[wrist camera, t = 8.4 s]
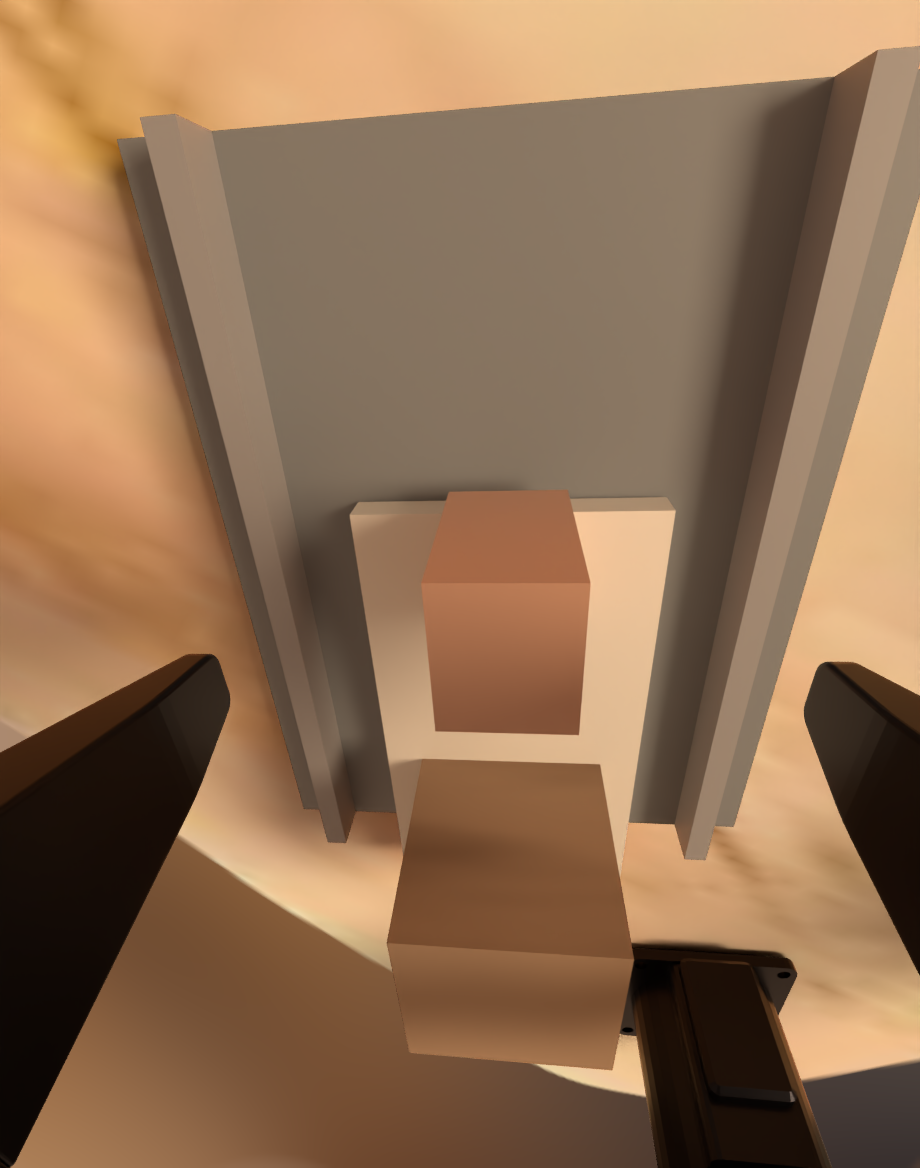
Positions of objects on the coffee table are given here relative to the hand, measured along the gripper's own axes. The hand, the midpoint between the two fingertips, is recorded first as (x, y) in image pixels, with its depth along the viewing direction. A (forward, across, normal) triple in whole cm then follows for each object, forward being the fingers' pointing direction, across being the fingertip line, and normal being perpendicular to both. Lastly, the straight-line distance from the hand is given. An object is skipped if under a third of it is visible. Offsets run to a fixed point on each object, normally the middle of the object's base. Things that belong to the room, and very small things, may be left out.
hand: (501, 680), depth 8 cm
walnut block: (+4, 0, +9) cm, 10 cm away
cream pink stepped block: (+5, 0, +6) cm, 8 cm away
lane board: (+6, 0, +1) cm, 7 cm away
